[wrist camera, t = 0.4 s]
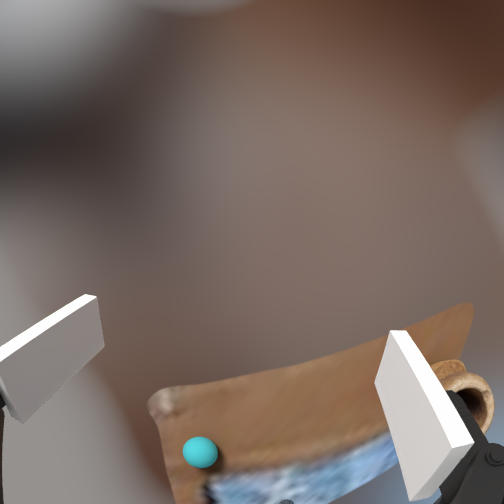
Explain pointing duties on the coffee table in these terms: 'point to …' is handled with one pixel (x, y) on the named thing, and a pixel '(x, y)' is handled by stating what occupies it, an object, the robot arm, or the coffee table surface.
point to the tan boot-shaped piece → (467, 390)
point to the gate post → (286, 502)
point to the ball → (200, 452)
